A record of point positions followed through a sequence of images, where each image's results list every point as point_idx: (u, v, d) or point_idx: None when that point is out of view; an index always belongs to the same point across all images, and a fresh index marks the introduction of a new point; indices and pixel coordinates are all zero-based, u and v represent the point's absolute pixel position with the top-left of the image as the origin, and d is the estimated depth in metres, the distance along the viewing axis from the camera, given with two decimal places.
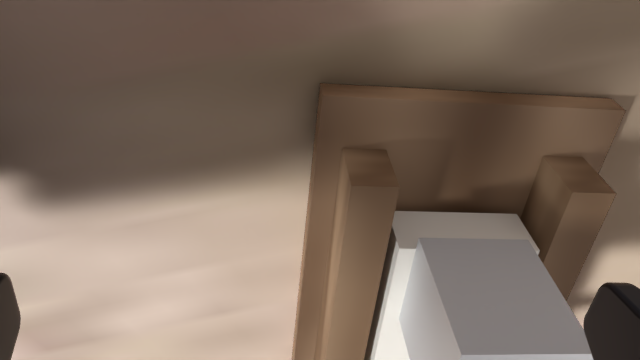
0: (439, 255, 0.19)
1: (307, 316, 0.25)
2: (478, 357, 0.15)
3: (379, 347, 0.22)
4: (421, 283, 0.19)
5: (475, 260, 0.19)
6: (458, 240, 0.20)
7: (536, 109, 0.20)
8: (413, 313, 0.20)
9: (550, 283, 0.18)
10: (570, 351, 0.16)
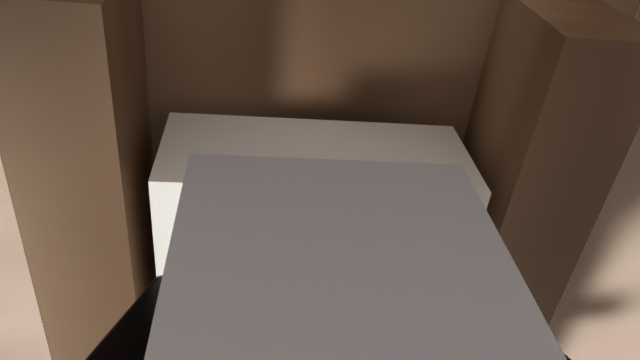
0: (220, 192, 0.07)
1: None
2: None
3: None
4: None
5: (312, 205, 0.07)
6: (288, 161, 0.08)
7: None
8: None
9: (502, 264, 0.07)
10: None
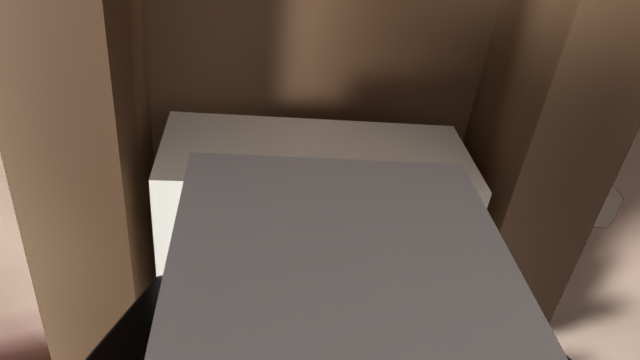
0: (220, 190, 0.07)
1: None
2: None
3: None
4: None
5: (313, 204, 0.07)
6: (288, 160, 0.08)
7: None
8: None
9: (503, 263, 0.07)
10: None
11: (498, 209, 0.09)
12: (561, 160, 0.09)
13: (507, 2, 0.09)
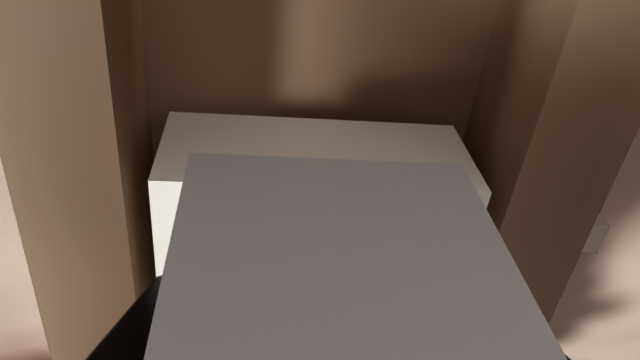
0: (220, 191, 0.07)
1: None
2: None
3: None
4: None
5: (312, 204, 0.07)
6: (288, 161, 0.08)
7: None
8: None
9: (502, 264, 0.07)
10: None
11: None
12: (548, 191, 0.09)
13: (497, 36, 0.10)
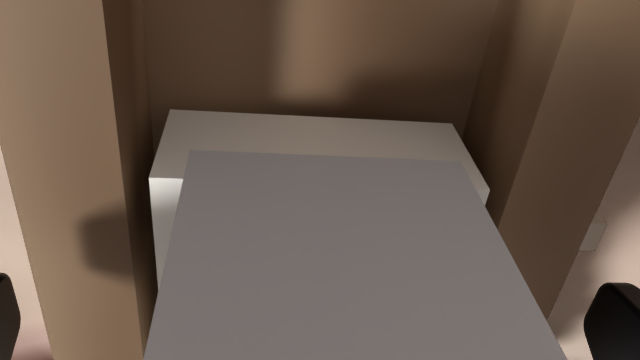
0: (220, 187, 0.07)
1: None
2: None
3: None
4: None
5: (312, 200, 0.07)
6: (287, 158, 0.08)
7: None
8: None
9: (500, 259, 0.07)
10: None
11: None
12: (546, 189, 0.09)
13: (495, 35, 0.10)
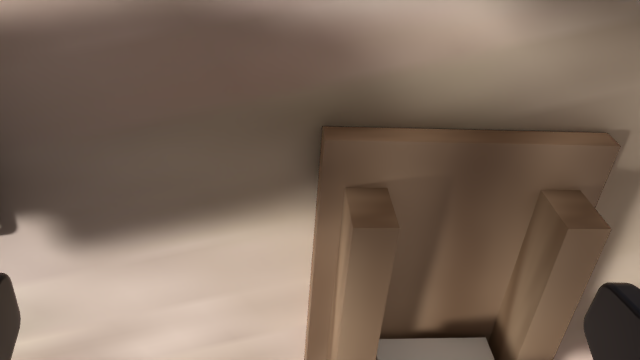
0: None
1: (315, 342, 0.26)
2: None
3: None
4: None
5: None
6: None
7: (532, 147, 0.21)
8: None
9: None
10: None
11: None
12: None
13: (502, 309, 0.25)
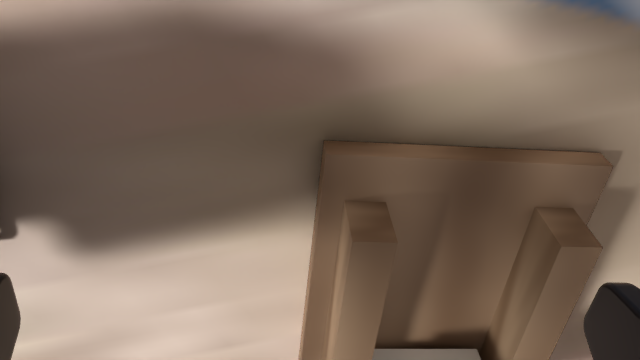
0: None
1: (310, 351, 0.26)
2: None
3: None
4: None
5: None
6: None
7: (528, 165, 0.21)
8: None
9: None
10: None
11: None
12: None
13: (494, 322, 0.25)
